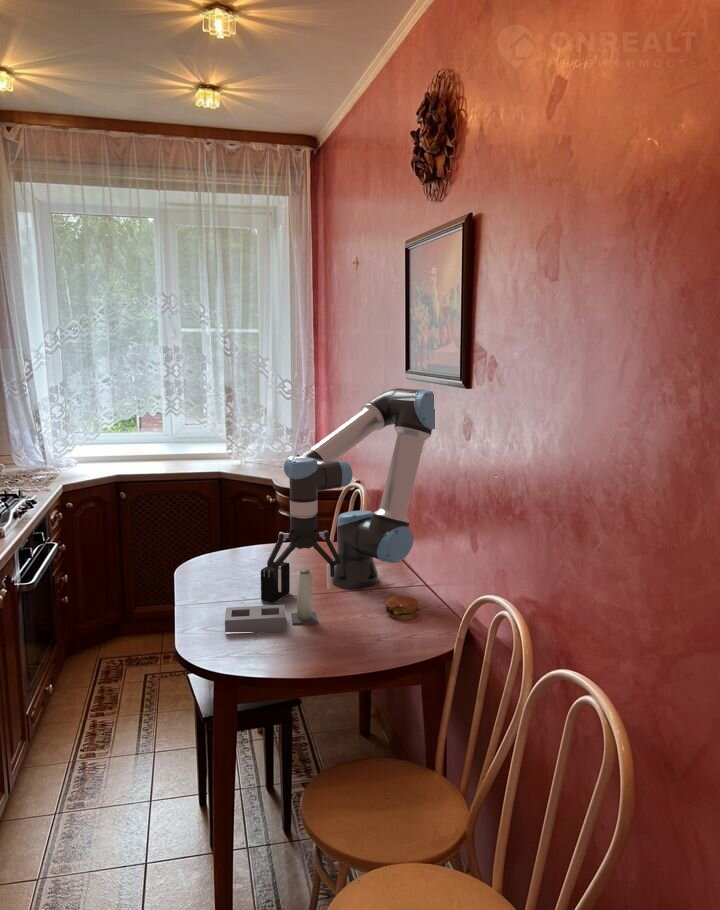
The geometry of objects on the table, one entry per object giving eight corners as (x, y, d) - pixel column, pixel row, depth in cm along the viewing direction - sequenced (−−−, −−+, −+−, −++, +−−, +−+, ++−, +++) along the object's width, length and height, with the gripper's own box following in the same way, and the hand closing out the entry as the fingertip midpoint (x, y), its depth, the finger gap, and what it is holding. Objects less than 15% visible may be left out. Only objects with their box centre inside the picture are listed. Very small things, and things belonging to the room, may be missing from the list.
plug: (311, 614, 192) (311, 568, 190) (312, 619, 188) (312, 572, 186) (296, 614, 191) (296, 568, 189) (297, 620, 188) (297, 573, 185)
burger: (414, 606, 200) (414, 591, 199) (423, 619, 191) (423, 603, 190) (381, 609, 198) (381, 593, 197) (388, 621, 189) (388, 606, 188)
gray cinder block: (284, 618, 191) (284, 604, 190) (285, 631, 182) (285, 617, 181) (226, 621, 188) (226, 607, 188) (225, 634, 179) (224, 620, 179)
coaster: (315, 613, 194) (315, 611, 194) (318, 623, 187) (318, 621, 187) (291, 615, 193) (291, 613, 193) (292, 624, 186) (292, 622, 186)
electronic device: (290, 593, 210) (289, 562, 208) (272, 604, 201) (272, 571, 199) (278, 591, 212) (278, 560, 210) (260, 601, 203) (260, 569, 201)
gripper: (347, 510, 191) (346, 582, 194) (257, 512, 187) (258, 586, 190) (350, 516, 183) (350, 591, 187) (257, 519, 180) (259, 596, 183)
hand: (304, 589), depth 189 cm, fingers open, 13 cm apart
